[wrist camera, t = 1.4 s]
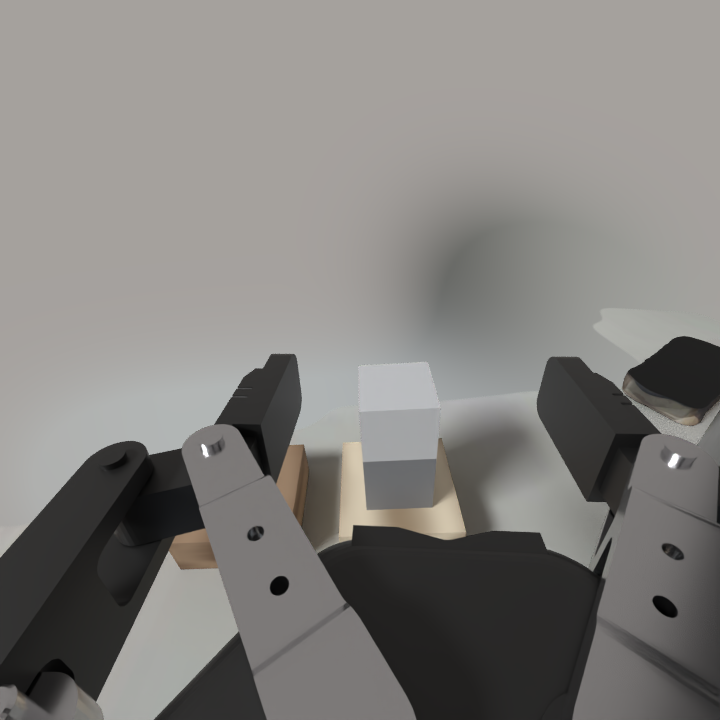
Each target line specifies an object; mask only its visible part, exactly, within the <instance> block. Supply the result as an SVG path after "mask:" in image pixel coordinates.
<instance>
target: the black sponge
mask: <svg viewBox="0 0 720 720" xmlns="http://www.w3.org/2000/svg"><path fill="white" fill-rule="evenodd" d="M622 390H623V392H624V393H625V394H627V395H628V396H629V397H631V398H632V399H634V400H635V401H637V402H640V403H642V404H644V405H646V406H648V407H650V408H651V409H653V410H655V411H657V412H659V413H661V414H662V415H664V416H666V417H668V418H670V419H671V420H673V421H675V422H678V423H680V424H683V425H696V424H698V423H699V422H700V421H701V420H702V418H703V416H704V414H705V413H706V411H708V410H709V409H710V408H711V407H712V406H713V405H714V404H715V403H716V402H717V401H718V400H719V399H720V347H718V346H716V345H713V344H711V343H708V342H705V341H702V340H699V339H695V338H692V337H686V336H682V337H676V338H674V339H672V340H671V341H670V342H669V343H668V344H666V345H665V346H663V348H662V349H660V350H659V351H658V352H657V353H655V354H654V355H652V356H651V357H650V358H648V359H646V360H645V362H643V363H642V364H640V365H638V366H636V367H634V368H632V369H630V370H629V371H628V373H627V374H626V376H625V378H624V382H623V387H622Z"/></svg>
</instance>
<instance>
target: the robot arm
mask: <svg viewBox="0 0 720 720" xmlns="http://www.w3.org/2000/svg"><path fill="white" fill-rule="evenodd" d="M301 401H302V397H301V387H300V380H299V372H298V364H297V358H296V356H295V355H294V354H271V355H270V357H269V359H268V361H267V362H266V364H265V366H264V368H263V369H254V370H253V371H252V372H250V373H249V374H248V375H246V376H245V377H244V378H243V379H242V381H241V383H240V384H239V386H238V389H236V391H235V392H234V394H233V397H232V398H231V399H230V400H229V402H228V403H227V405H226V407H225V408H224V410H223V411H222V413H221V415H220V416H219V418H218V419H217V421H216V423H215V424H214V425H212V426H208V427H205V428H202V429H200V430H198V431H196V432H195V433H194V434H192V435H191V436H190V437H189V438H188V439H187V440H186V441H185V443H184V444H183V447H182V448H181V449H177V450H172V451H167V452H162V453H157V454H152V455H149V454H148V451H147V449H146V447H145V446H144V445H143V444H141V443H139V442H136V441H125V442H120V443H116V444H113V445H110V446H107V447H105V448H103V449H101V450H99V451H98V452H96V453H95V454H93V455H92V456H91V457H90V458H88V459H87V460H86V461H85V462H84V464H83V465H82V466H81V467H80V468H79V469H78V470H77V471H76V473H75V474H74V475H73V476H72V477H71V478H70V479H69V481H68V482H67V483H66V484H65V485H64V486H63V487H62V488H61V490H60V491H59V492H58V493H57V494H56V495H55V497H54V498H53V499H52V500H51V501H50V502H49V503H48V504H47V505H46V507H45V508H44V509H43V510H42V511H41V512H40V513H39V515H38V516H37V517H36V518H35V519H34V520H33V521H32V522H31V524H30V525H29V526H28V527H27V528H26V529H25V530H24V532H23V533H22V534H21V535H20V536H19V537H18V538H17V540H16V541H15V542H14V543H13V544H12V545H11V546H10V547H9V549H8V550H7V551H6V552H5V553H4V554H3V555H2V557H1V558H0V720H104V718H103V713H102V710H101V708H100V707H99V705H98V704H97V703H96V701H97V699H98V697H99V695H100V692H101V690H102V688H103V686H104V684H105V682H106V680H107V678H108V676H109V674H110V672H111V670H112V667H113V665H114V663H115V661H116V659H117V657H118V655H119V653H120V651H121V649H122V647H123V644H124V642H125V640H126V638H127V636H128V634H129V632H130V630H131V628H132V626H133V624H134V622H135V619H136V617H137V615H138V613H139V611H140V609H141V607H142V605H143V603H144V601H145V599H146V597H147V594H148V592H149V590H150V588H151V586H152V584H153V582H154V580H155V578H156V576H157V574H158V572H159V569H160V567H161V565H162V563H163V561H164V559H165V557H166V555H167V553H168V551H169V549H170V547H171V544H172V542H173V540H174V538H175V536H177V535H181V534H185V533H189V532H193V531H197V530H201V529H206V532H207V535H208V538H209V541H210V544H211V547H212V550H213V553H214V556H215V559H216V562H217V565H218V568H219V572H220V575H221V578H222V581H223V584H224V587H225V590H226V593H227V596H228V599H229V602H230V605H231V608H232V611H233V614H234V618H235V621H236V624H237V627H238V630H239V632H238V633H237V634H236V635H235V636H234V637H233V638H232V639H231V640H230V641H229V642H228V643H227V644H226V645H225V646H224V647H223V648H222V649H221V650H220V651H219V652H218V654H217V655H216V656H215V657H214V658H213V659H212V660H211V661H210V662H209V663H208V664H207V665H206V666H205V667H204V668H203V669H202V670H201V671H200V672H199V673H198V674H197V675H196V676H195V677H194V678H193V680H192V681H191V682H190V683H189V684H188V685H187V686H186V687H185V688H184V689H183V690H182V691H181V692H180V693H179V694H178V695H177V696H176V697H175V698H174V699H173V700H172V701H171V702H170V703H169V704H168V706H167V707H166V708H165V709H164V710H163V711H162V712H161V713H160V714H159V715H158V716H157V717H156V718H155V719H154V720H720V411H719V412H718V414H717V415H716V417H715V418H714V420H713V421H712V423H711V424H710V426H709V427H708V429H707V431H706V432H705V434H704V435H703V437H702V438H701V440H700V441H699V443H698V444H697V445H695V444H693V443H691V442H689V441H687V440H684V439H681V438H678V437H675V436H671V435H665V434H661V433H660V432H659V431H658V430H657V428H656V427H655V426H654V425H653V424H652V423H651V422H650V421H649V420H648V419H647V418H646V417H645V416H644V415H643V414H642V413H641V412H640V411H639V410H638V409H637V408H636V406H635V405H632V402H631V401H630V400H629V399H628V398H627V397H626V396H623V393H622V392H621V391H620V390H619V389H618V388H617V387H616V386H615V384H613V382H611V381H609V380H608V379H606V378H604V377H602V376H601V375H599V374H597V373H593V372H592V371H591V370H590V369H589V368H588V367H587V365H586V364H585V363H584V362H583V361H582V360H581V359H580V358H579V357H551V358H549V360H548V361H547V364H546V368H545V371H544V375H543V379H542V383H541V387H540V390H539V394H538V398H537V411H538V415H539V417H540V419H541V421H542V423H543V425H544V426H545V428H546V430H547V432H548V433H549V435H550V437H551V439H552V441H553V442H554V444H555V446H556V448H557V449H558V451H559V453H560V455H561V457H562V458H563V460H564V462H565V464H566V466H567V467H568V469H569V471H570V473H571V474H572V476H573V478H574V480H575V482H576V483H577V485H578V487H579V489H580V490H581V492H582V494H583V496H584V498H585V499H586V501H587V502H607V504H608V506H609V507H610V508H609V510H608V512H607V514H606V516H605V519H604V522H603V525H602V528H601V531H600V534H599V537H598V540H597V543H596V546H595V549H594V552H593V555H592V558H591V561H590V564H589V567H588V568H587V567H585V566H583V565H582V564H580V563H578V562H576V561H574V560H572V559H570V558H568V557H566V556H564V555H562V554H559V553H556V552H554V551H551V550H547V549H546V547H545V544H544V542H543V539H542V537H541V534H540V533H534V532H510V531H490V532H485V533H480V534H475V535H471V536H466V537H461V538H456V539H451V540H444V539H439V538H436V537H432V536H429V535H425V534H422V533H418V532H414V531H411V530H407V529H404V528H400V527H388V526H364V525H353V532H352V540H348V541H344V542H341V543H338V544H335V545H332V546H330V547H328V548H326V549H324V550H322V551H321V552H319V553H318V554H317V553H316V552H315V550H314V548H313V547H312V545H311V543H310V541H309V540H308V538H307V536H306V535H305V533H304V531H303V529H302V528H301V526H300V524H299V523H298V521H297V519H296V518H295V516H294V514H293V512H292V511H291V509H290V507H289V506H288V504H287V502H286V500H285V499H284V497H283V495H282V494H281V492H280V490H279V488H278V487H277V485H276V483H277V480H278V477H279V474H280V471H281V468H282V465H283V462H284V459H285V456H286V453H287V450H288V447H289V444H290V441H291V438H292V435H293V432H294V429H295V426H296V423H297V419H298V417H299V414H300V410H301Z"/></svg>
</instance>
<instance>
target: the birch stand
mask: <svg viewBox="0 0 720 720" xmlns="http://www.w3.org/2000/svg"><path fill="white" fill-rule="evenodd" d="M353 525H364V526H388V527H400V528H404V529H407V530H411V531H414V532H418V533H422V534H425V535H429V536H432V537H436V538H439V539H444V540H451V539H456V538H461V537H465V536H466V529H465V526H464V522H463V518H462V514H461V510H460V507H459V503H458V499H457V495H456V491H455V488H454V484H453V480H452V476H451V472H450V469H449V465H448V461H447V457H446V453H445V450H444V446H443V442H442V438H438V448H437V460H436V472H435V483H434V495H433V506H432V508H408V509H384V510H367V508H366V496H365V483H364V470H363V458H362V445H361V442H349V443H343V452H342V475H341V499H340V522H339V541H340V543H341V542H344V541H348V540H352V532H353Z"/></svg>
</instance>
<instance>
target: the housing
mask: <svg viewBox="0 0 720 720" xmlns="http://www.w3.org/2000/svg"><path fill="white" fill-rule="evenodd" d="M440 414H441V406H440V403H439V399H438V396H437V392H436V389H435V385H434V382H433V379H432V375H431V372H430V368H429V365H428V362H415V363H396V364H378V365H377V364H376V365H359V420H360V433H361V445H362V458H363V470H364V483H365V496H366V508H367V510H384V509H408V508H432V506H433V495H434V483H435V472H436V460H437V448H438V437H439V425H440Z"/></svg>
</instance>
